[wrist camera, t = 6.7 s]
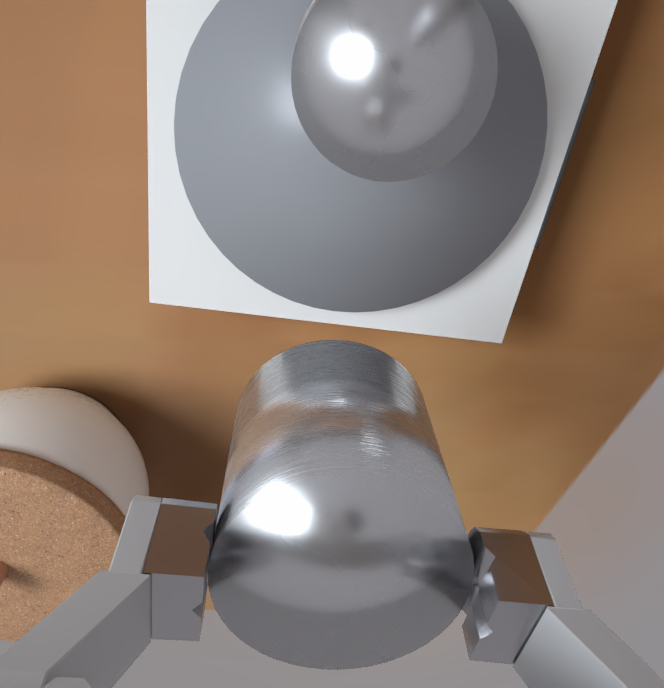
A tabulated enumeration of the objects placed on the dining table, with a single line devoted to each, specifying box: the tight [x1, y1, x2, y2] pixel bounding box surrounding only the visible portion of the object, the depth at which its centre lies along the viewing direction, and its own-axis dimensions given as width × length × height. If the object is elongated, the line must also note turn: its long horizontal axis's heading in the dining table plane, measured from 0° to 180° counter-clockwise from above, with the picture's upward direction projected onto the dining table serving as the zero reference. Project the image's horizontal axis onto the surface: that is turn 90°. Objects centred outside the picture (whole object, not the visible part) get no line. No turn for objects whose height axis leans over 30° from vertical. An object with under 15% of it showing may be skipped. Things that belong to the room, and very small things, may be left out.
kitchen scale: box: [146, 0, 618, 343], centre depth 22 cm, size 14×14×4 cm
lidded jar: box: [0, 387, 149, 641], centre depth 28 cm, size 11×11×9 cm
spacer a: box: [208, 340, 474, 670], centre depth 14 cm, size 5×5×5 cm
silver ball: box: [291, 0, 498, 182], centre depth 17 cm, size 5×5×5 cm
